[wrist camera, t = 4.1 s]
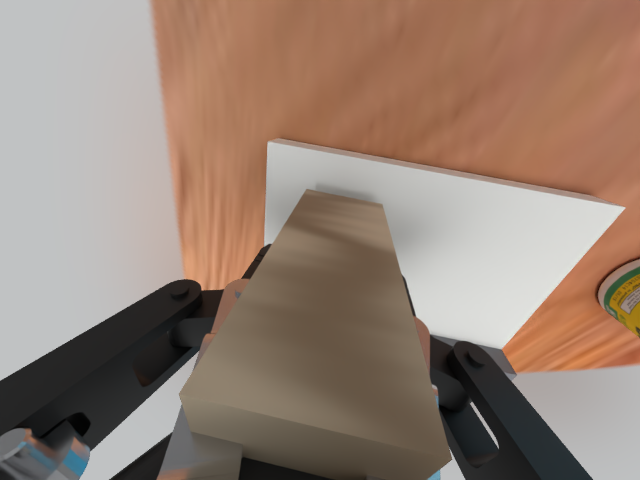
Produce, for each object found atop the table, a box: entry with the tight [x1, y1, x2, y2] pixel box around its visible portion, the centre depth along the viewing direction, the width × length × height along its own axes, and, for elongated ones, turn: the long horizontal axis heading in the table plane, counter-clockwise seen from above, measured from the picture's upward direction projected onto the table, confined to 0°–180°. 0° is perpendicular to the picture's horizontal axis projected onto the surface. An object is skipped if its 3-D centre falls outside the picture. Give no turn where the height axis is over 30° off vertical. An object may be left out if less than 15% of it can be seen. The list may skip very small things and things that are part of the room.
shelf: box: [264, 138, 626, 381], centre depth 16 cm, size 13×19×4 cm
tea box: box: [179, 189, 452, 480], centre depth 9 cm, size 4×6×10 cm
